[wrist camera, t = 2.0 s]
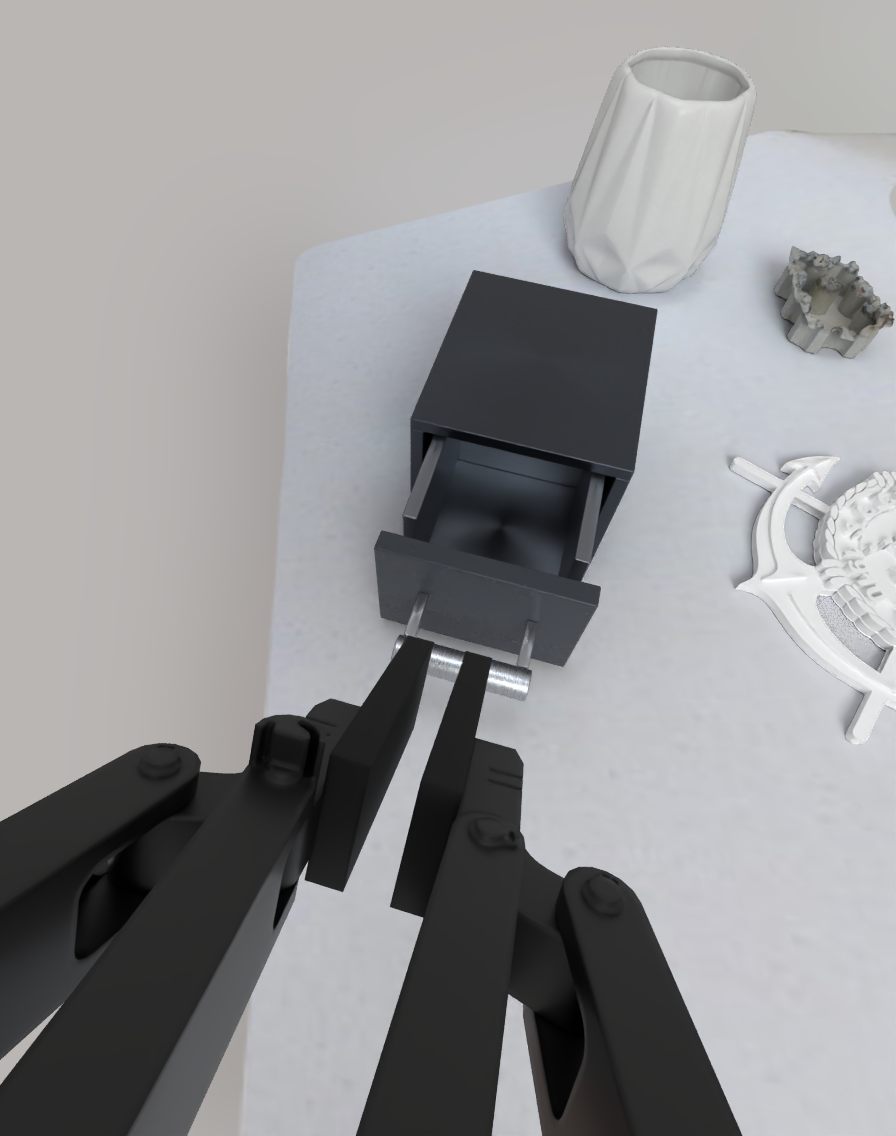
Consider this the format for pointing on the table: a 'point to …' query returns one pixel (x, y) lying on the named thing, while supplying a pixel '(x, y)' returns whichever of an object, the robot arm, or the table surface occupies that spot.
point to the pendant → (832, 574)
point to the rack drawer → (493, 559)
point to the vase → (659, 169)
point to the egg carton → (829, 304)
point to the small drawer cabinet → (541, 380)
